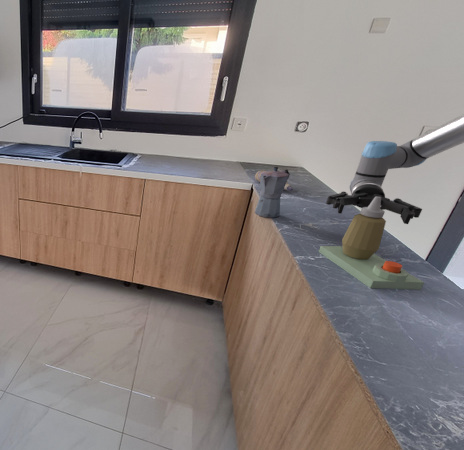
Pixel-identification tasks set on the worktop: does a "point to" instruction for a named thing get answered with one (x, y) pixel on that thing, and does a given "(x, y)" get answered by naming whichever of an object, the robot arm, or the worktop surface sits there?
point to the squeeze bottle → (365, 232)
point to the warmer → (371, 270)
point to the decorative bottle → (258, 174)
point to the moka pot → (271, 192)
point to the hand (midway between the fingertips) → (373, 213)
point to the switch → (392, 267)
